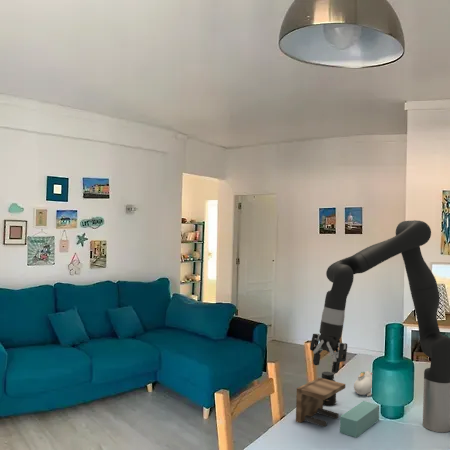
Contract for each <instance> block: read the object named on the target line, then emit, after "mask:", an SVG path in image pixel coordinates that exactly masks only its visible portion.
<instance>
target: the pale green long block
mask: <svg viewBox="0 0 450 450" xmlns="http://www.w3.org/2000/svg"><path fill="white" fill-rule="evenodd" d="M339 417H340V418H339V433H340V434H343V435H346V436H350V437H353V438H358V437H359V436H361V434H364V432H365V431H367V430H368V429H369V428H371V427H372V426H374V424H375V422H376V423H377V422H378V421H379V420H380V405H379V404H378V403H373V402H370V401H366V400H362V401H361V402H360V403H358V404H357V405H355V406H354V407H352V408H350V409H349V410H348V411H346V412H345V413H343V414H342V415H340V416H339Z"/></svg>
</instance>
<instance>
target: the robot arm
mask: <svg viewBox="0 0 450 450" xmlns="http://www.w3.org/2000/svg"><path fill="white" fill-rule="evenodd" d="M431 236H432V229H431V227H430V225H428V223H426V222H425V221H422V220H415V219H414V220H404V221H401V222H399V223H398V224H397V226H396V229H395V236H393V237H390V238H388V239H386V240H383V241H380V242H377V243H375V244H372V245H369V246H367V247H365V248H364V249H362V250H359V251H358V252H356V253H354V254H352V255H351V256H347V257H345V258H343V259H340V260H337V261H335V262H333V263H332V264H330V265H329V266H328V267H327V269H326V273H325V275H326V278H327V280H328V281H329V282H331V283H332V286H331V288H330V290H328V291H327V292H326V295H325V297H324V298H325V299H324V305H323V310H322V314H321V321H320V327H319V331H318V332H319V333H312V337H311V343H310V345H309V346H310V347H309V349H310V351H312V353H313V357H312V358H313V359H312V363H313V365H314V366H319V365H320V362H321V353H322V352H323V351H327V352H328V353H329V354H330V356H332V358H333V359H332V360H333V361H332V366H331V372H332V373H334V374H338V372H339V371H340V364H341V363H342V362H343V363H344V362H346V361H347V353H348V343H345V342H343V343H342V342H341V338H342V337H343V331H344V330H343V329H344V324H345V317H346V316H345V314H346V307H347V306H346V305H347V300H348V299H347V298H348V296H349V294H350V291H351V288H352V285H353V283H354V276H355V275H356V274H363V273H366V272H367V271H369V270H371V269H373V268H375V267H376V266H378V265H380V264H382V263H384V262H385V261H387V260H389V259H392V258H394V257H395V256H398V255H399V254H401V257H402V259H403V264H404V268H405V272H406V276H407V280H408V286H409V291H410V295H411V300H412V302H413V303H412V304H413V307H414V311H415V317H416V320H417V325H418V326H417V327H418V334H419V342H420V343H419V344H420V349H421V351H422V352H423V354H424V355H426V357H429V358H430V365H429V366H430V367H427V368H425V369H424V371H423V401H422V405H423V406H422V427H424V428H425V429H427V430H429V431H432V432H437V433H448V432H450V337H448V336H447V335H443V334H441V333H442V332H441V331H440V328H439V323H438V317H437V316H438V315H437V314H438V311H439V305H440V301H441V300H440V292H439V287H438V284H437V279H436V278H435V276H434V274H433V272H432V271H431V269H430V267H429V265H428V264H427V263H426V261H425V258H424V257H423V254H422V251H421V246H424V245H425V244H426V243H428V242H429V241H430V240H431Z"/></svg>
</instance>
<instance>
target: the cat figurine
mask: <svg viewBox="0 0 450 450" xmlns="http://www.w3.org/2000/svg"><path fill="white" fill-rule="evenodd" d="M372 374H373V372H370V371H367V370H365V371H361V372H360V374H359V375H357V379H356V380H355V381H354V383H353V390H354V391H355V392H356V394H357V395H360V396H364V395H366V396H367V397H370V396H371V395H372V394H371V388H372Z"/></svg>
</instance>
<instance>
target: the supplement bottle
mask: <svg viewBox="0 0 450 450" xmlns="http://www.w3.org/2000/svg"><path fill="white" fill-rule="evenodd" d="M321 378H323V379H327V380H331V381H335V382H337V381H336V380H335V373H332V371H322V372H321ZM336 404H337V393H336V394H334V395H332V396H331V397H329V398H327V399H325V400H323V406H326V407H331V406H335V405H336Z"/></svg>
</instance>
